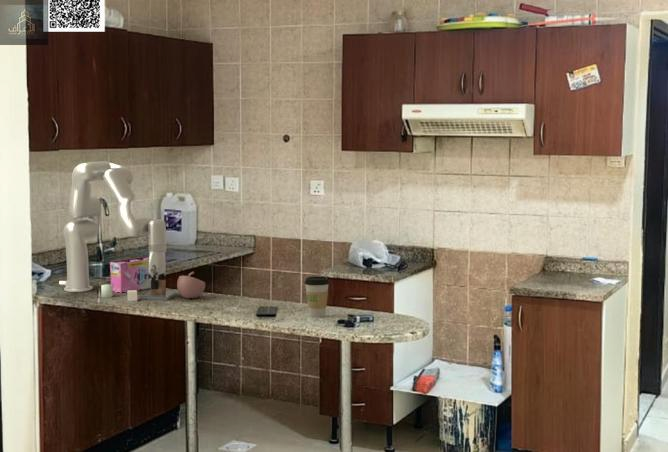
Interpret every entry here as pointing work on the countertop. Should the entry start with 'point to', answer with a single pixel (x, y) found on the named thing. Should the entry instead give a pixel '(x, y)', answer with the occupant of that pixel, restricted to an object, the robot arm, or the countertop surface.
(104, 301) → the countertop surface
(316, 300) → the coffee cup
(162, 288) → the walnut block
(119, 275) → the gum box
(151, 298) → the slate board
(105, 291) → the sage tin
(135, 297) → the cream cube
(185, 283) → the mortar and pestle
